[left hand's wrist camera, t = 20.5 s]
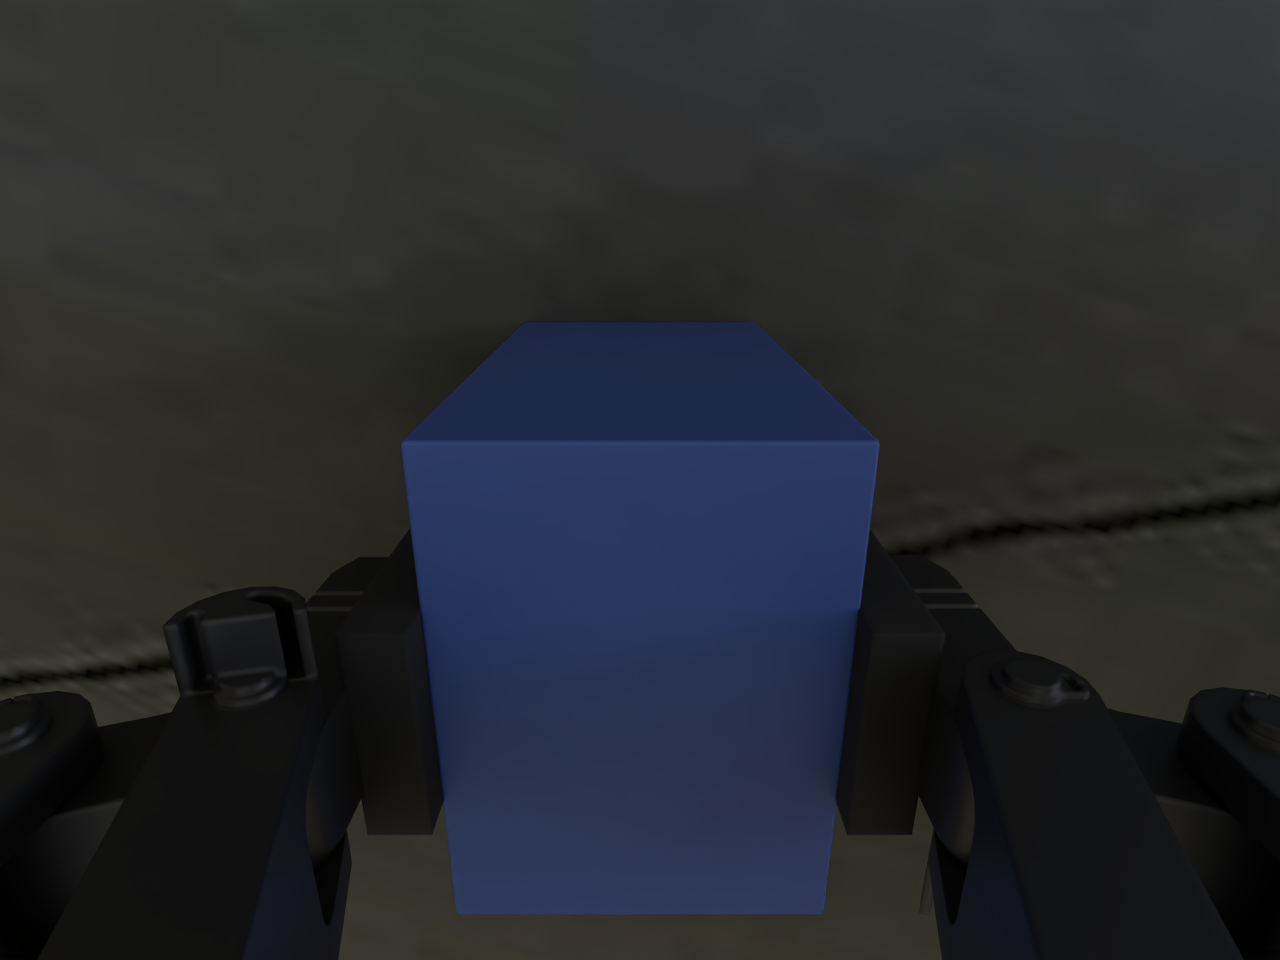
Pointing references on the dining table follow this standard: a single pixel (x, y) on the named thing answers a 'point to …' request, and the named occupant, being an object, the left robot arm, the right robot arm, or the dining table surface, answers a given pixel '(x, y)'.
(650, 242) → the dining table surface
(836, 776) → the block
